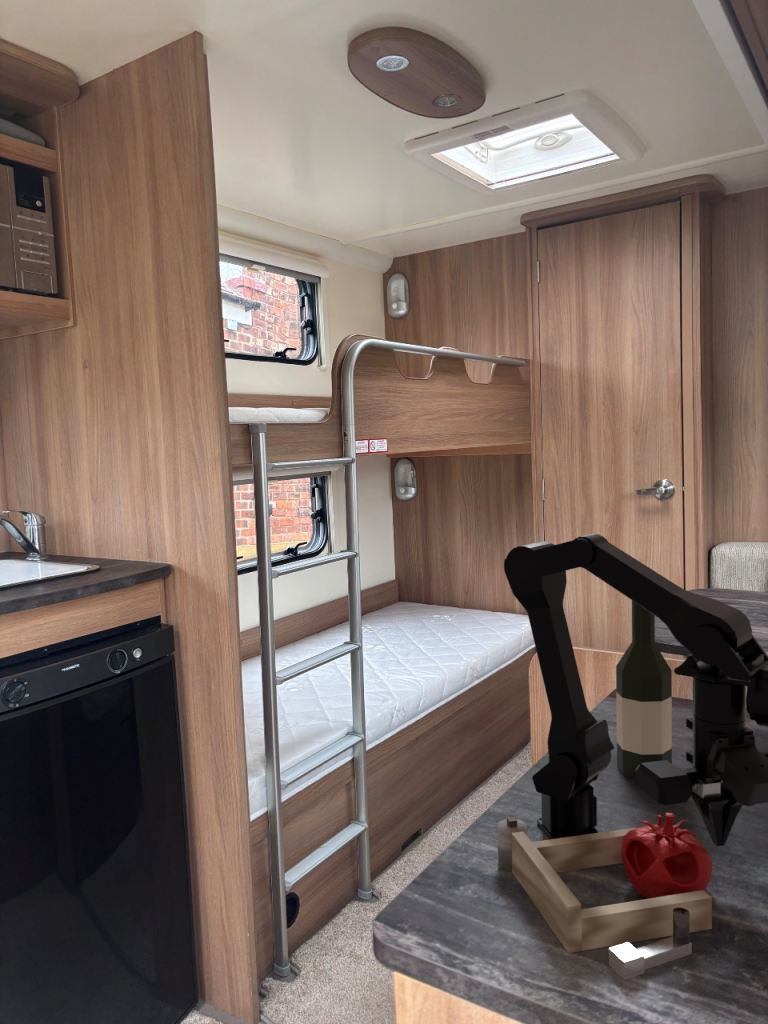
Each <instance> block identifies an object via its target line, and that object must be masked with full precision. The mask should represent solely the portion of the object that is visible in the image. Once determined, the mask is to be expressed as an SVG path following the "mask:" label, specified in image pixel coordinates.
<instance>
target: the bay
mask: <svg viewBox="0 0 768 1024" xmlns="http://www.w3.org/2000/svg"><path fill="white" fill-rule="evenodd" d="M633 829H637V828H636V827H631V828H624V829H617V830H609V831H602V832H599V833H593V834H586V835H579V836H572V837H564V838H557V839H551V838H550V839H545V840H538V841H537V840H536V841H531V840H530V838H529V837H528V831H527V830H528V827H527V824H526V822H525V821H523V820H521V819H517V818H516V817H515V816H511V817H506V818H504V819H502V820H500V821H498V822H497V853H498V854H497V856H498V860H497V861H498V862H497V863H498V867H500V868H501V869H503V870H505V871H508V872H512V873H513V875H514V876H515V878H516V880H517V881H518V882H519V884H520V885H521V887H522V888H523V890H524V891H525V893H526V894H527V896H528V897H529V898H530V900H531V901H532V903H533V904H534V905H535V907H536V909H537V910H538V911H539V913H540V914H541V916H542V917H543V918H544V920H545V922H546V923H547V924H548V926H549V927H550V929H551V931H552V932H553V933H554V935H555V936H556V937H557V939H558V940H559V942H560V943H561V945H562V946H563V947H564V949H565V951H566V952H567V954H572V953H579V952H584V951H589V950H596V949H601V948H608V947H614V946H617V945H620V944H624V943H627V942H629V943H630V944H632V943H636V942H644V941H649V940H654V939H661V938H666V937H667V938H668V937H673V909H674V908H677V907H680V908H684V909H686V910H688V911H689V913H690V934H691V933H697V932H701V931H707V930H712V929H713V909H712V908H713V898H712V896H711V895H709V893H708V892H706V891H704V890H700V891H694V892H688V893H681V894H675V895H669V896H663V897H656V898H650V899H648V898H645V899H639V900H632V901H627V902H619V903H613V904H607V905H599V906H594V907H588V908H583V909H582V904H581V902H580V900H578V899H577V897H576V896H575V895H574V893H573V892H572V891H571V889H569V887H568V886H567V885H566V884H565V882H564V881H563V880H562V878H561V877H560V876H559V875H558V873H564V872H571V871H577V870H578V871H579V870H585V869H590V868H591V869H592V868H599V867H604V866H611V865H618V864H623V862H622V854H621V847H622V841H623V837H624V836H625V835H626V834H627V833H628V832H629V831H630V830H633Z"/></svg>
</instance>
